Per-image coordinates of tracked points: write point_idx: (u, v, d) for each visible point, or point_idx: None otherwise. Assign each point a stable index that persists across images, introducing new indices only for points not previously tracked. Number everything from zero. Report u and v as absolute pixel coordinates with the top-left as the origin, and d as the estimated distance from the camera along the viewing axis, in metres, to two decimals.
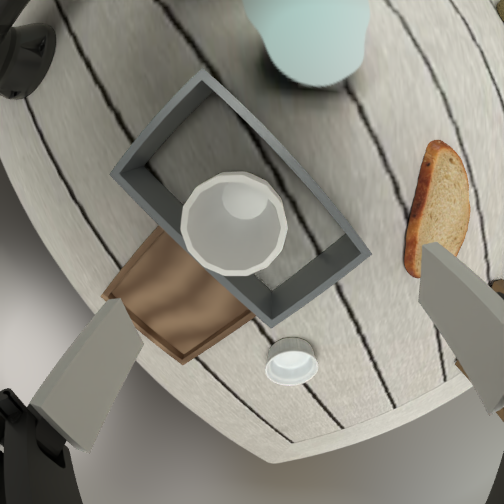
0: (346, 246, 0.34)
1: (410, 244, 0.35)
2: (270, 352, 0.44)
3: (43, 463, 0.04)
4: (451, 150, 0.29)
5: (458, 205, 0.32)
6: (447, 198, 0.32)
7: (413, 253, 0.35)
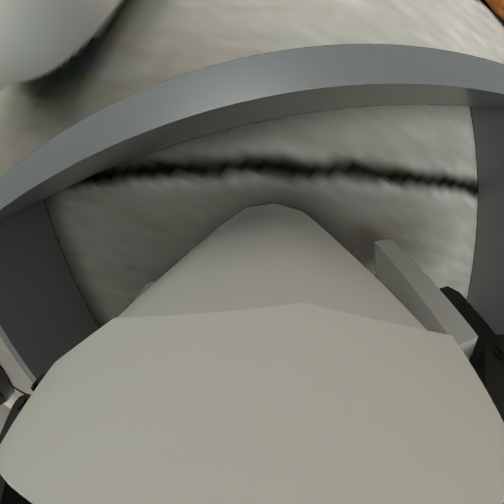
0: None
1: None
2: None
3: None
4: None
5: None
6: None
7: None
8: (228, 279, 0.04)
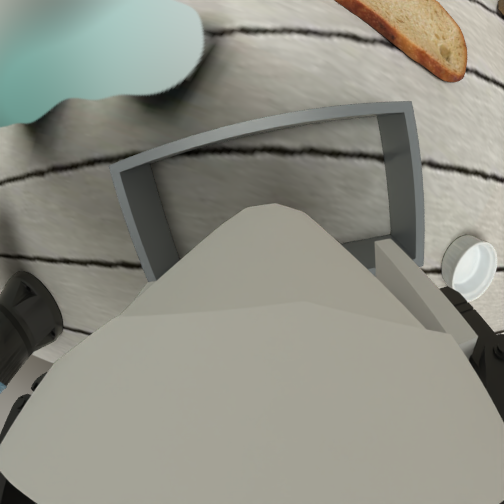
0: (389, 124, 0.22)
1: (423, 59, 0.20)
2: (446, 280, 0.30)
3: None
4: None
5: None
6: None
7: (435, 63, 0.19)
8: (228, 278, 0.04)
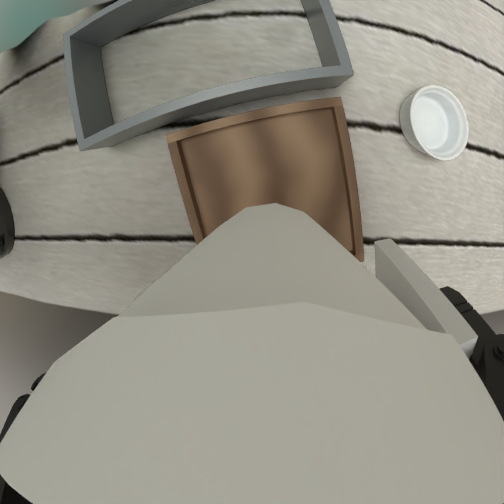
0: None
1: None
2: (408, 135, 0.25)
3: None
4: None
5: None
6: None
7: None
8: (228, 278, 0.04)
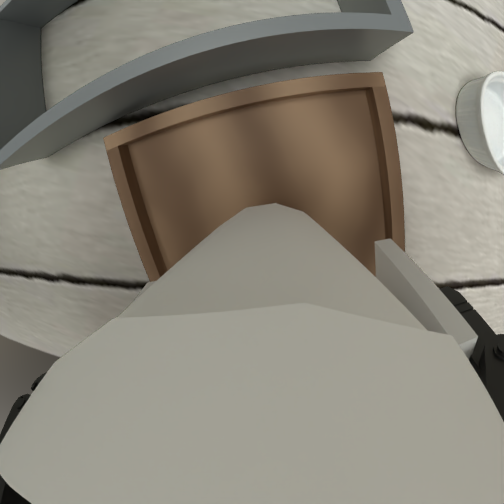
0: None
1: None
2: (471, 139, 0.14)
3: None
4: None
5: None
6: None
7: None
8: (228, 279, 0.04)
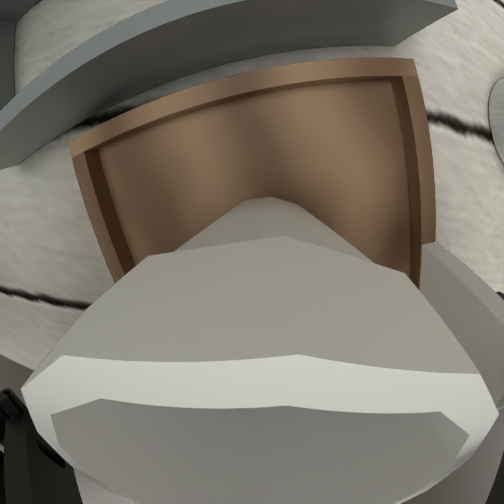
0: None
1: None
2: None
3: (43, 463, 0.04)
4: None
5: None
6: None
7: None
8: (231, 237, 0.05)
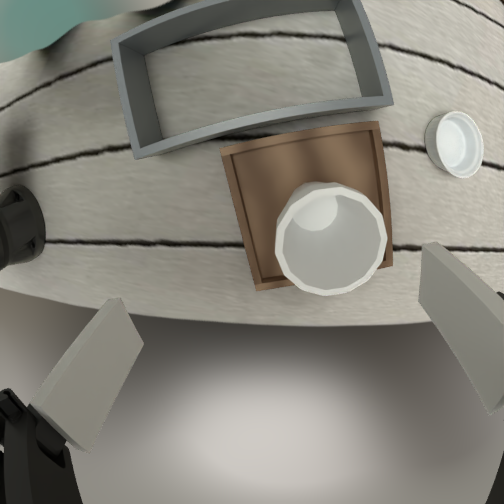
0: (342, 6, 0.21)
1: None
2: (432, 155, 0.28)
3: (43, 463, 0.04)
4: None
5: None
6: None
7: None
8: None
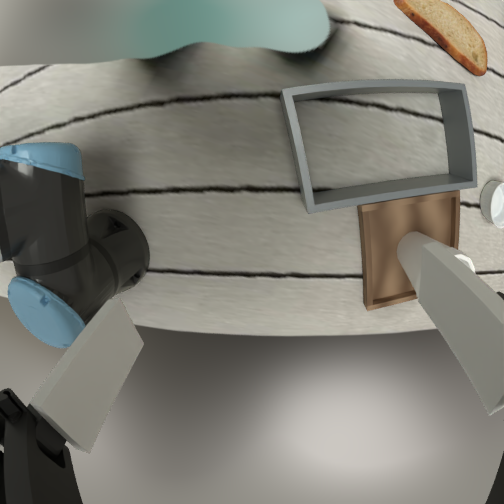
0: (449, 98, 0.29)
1: (463, 61, 0.26)
2: (485, 211, 0.36)
3: (43, 463, 0.04)
4: None
5: (445, 11, 0.22)
6: (438, 16, 0.23)
7: (471, 63, 0.25)
8: None
